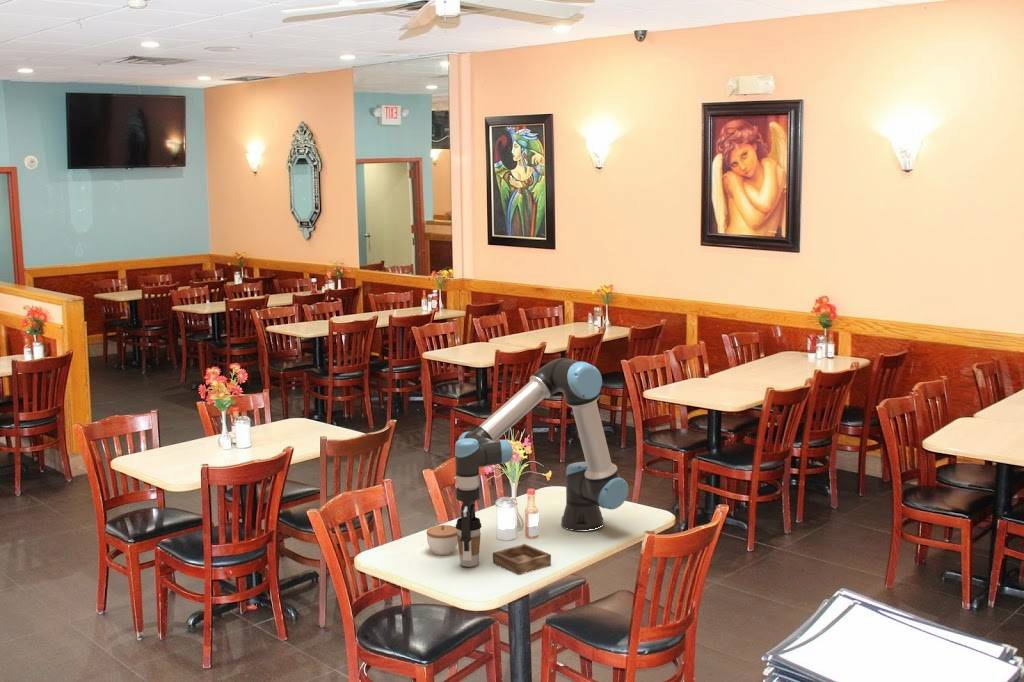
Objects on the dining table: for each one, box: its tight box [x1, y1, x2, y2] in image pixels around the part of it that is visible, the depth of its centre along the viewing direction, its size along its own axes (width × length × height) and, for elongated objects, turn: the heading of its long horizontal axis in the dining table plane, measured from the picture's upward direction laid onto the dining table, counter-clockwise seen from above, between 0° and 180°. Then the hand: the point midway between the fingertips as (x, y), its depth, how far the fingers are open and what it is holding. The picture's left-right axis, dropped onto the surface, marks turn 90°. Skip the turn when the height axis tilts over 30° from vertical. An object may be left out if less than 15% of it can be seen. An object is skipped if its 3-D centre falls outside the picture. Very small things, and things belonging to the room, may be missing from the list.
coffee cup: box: [455, 516, 482, 568], centre depth 339 cm, size 8×8×15 cm
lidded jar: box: [426, 524, 458, 556], centre depth 353 cm, size 11×11×9 cm
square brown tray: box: [492, 543, 552, 576], centre depth 341 cm, size 13×13×4 cm
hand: (469, 555), depth 340 cm, fingers closed on coffee cup, 8 cm apart
